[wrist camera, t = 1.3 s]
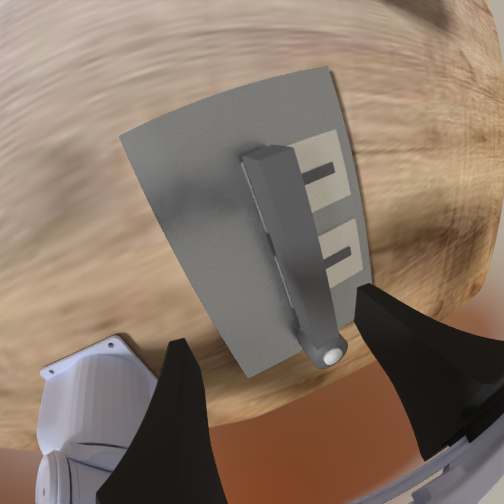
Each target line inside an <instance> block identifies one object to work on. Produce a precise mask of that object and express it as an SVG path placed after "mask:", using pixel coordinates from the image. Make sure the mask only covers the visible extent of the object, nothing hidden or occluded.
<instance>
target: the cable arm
mask: <svg viewBox="0 0 504 504" xmlns="http://www.w3.org/2000/svg"><path fill="white" fill-rule="evenodd" d="M242 158H243V160H244V163H245V166H246V169H247V171H248V174H249V177H250V180H251V183H252V185H253V188H254V191H255V194H256V197H257V199H258V202H259V205H260V208H261V211H262V214H263V216H264V219H265V222H266V225H267V228H268V231H269V234H270V237H271V240H272V242H273V245H274V248H275V251H276V254H277V257H278V260H279V263H280V266H281V269H282V272H283V275H284V278H285V281H286V284H287V287H288V290H289V293H290V296H291V299H292V302H293V305H294V308H295V311H296V314H297V317H298V320H299V323H300V327H301V330H300V332H299V334H298V343H299V344H300V346H301V347H302V349H303V350H304V351H305V353H306V354H307V355H308V357H309V358H310V360H311V361H312V362H313V364H314V365H315V366H316V367H317V368H319V369H325V368H329V367H331V366H333V365H334V364H336V363H337V362H339V361H340V360H341V359H342V357H343V356H344V355H345V353H346V351H347V348H348V343H347V341H346V340H345V339H344V338H343V337H342V336H341V335H340V334H339V332H338V327H337V322H336V316H335V311H334V306H333V301H332V296H331V291H330V287H329V282H328V277H327V273H326V268H325V264H324V260H323V255H322V251H321V247H320V243H319V238H318V234H317V230H316V226H315V222H314V218H313V215H312V211H311V207H310V203H309V199H308V196H307V192H306V188H305V185H304V181H303V178H302V174H301V171H300V167H299V164H298V160H297V157H296V154H295V150H294V147H287V146H280V145H270V146H267V147H264V148H262V149H259V150H256V151H254V152H251V153H249V154H246V155H244V156H242Z"/></svg>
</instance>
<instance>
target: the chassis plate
mask: <svg viewBox="0 0 504 504" xmlns="http://www.w3.org/2000/svg"><path fill="white" fill-rule="evenodd" d="M119 138H120V140H121V142H122V145H123V147H124V149H125V152H126V154H127V156H128V159H129V161H130V163H131V165H132V168H133V170H134V172H135V174H136V176H137V178H138V181H139V183H140V185H141V187H142V189H143V191H144V193H145V196H146V198H147V200H148V202H149V204H150V206H151V208H152V210H153V212H154V214H155V216H156V218H157V220H158V222H159V224H160V226H161V228H162V230H163V232H164V234H165V236H166V238H167V240H168V242H169V244H170V246H171V248H172V250H173V251H174V253H175V255H176V257H177V259H178V261H179V263H180V265H181V266H182V268H183V270H184V272H185V274H186V276H187V277H188V279H189V281H190V283H191V285H192V287H193V288H194V290H195V292H196V294H197V295H198V297H199V299H200V301H201V302H202V304H203V306H204V308H205V309H206V311H207V313H208V315H209V316H210V318H211V320H212V321H213V323H214V325H215V326H216V328H217V330H218V331H219V333H220V335H221V336H222V338H223V340H224V341H225V343H226V345H227V346H228V348H229V350H230V351H231V353H232V354H233V356H234V358H235V359H236V361H237V362H238V364H239V366H240V367H241V369H242V370H243V372H244V373H245V375H246V376H247V378H250V377H252V376H254V375H256V374H258V373H260V372H262V371H264V370H266V369H268V368H270V367H272V366H274V365H276V364H278V363H280V362H282V361H284V360H286V359H288V358H289V357H291V356H293V355H295V354H297V353H299V352H300V351H302V350H303V349H302V347H301V346H300V344H299V343H298V334H299V332H300V330H301V327H300V323H299V320H298V317H297V314H296V311H295V308H294V305H293V302H292V299H291V296H290V293H289V290H288V287H287V284H286V281H285V278H284V275H283V272H282V269H281V266H280V263H279V260H278V257H277V254H276V251H275V248H274V245H273V242H272V240H271V237H270V234H269V231H268V228H267V225H266V222H265V219H264V216H263V214H262V211H261V208H260V205H259V202H258V199H257V197H256V194H255V191H254V188H253V185H252V183H251V180H250V177H249V174H248V171H247V169H246V166H245V163H244V160H243V158H242V156H244V155H246V154H249V153H251V152H254V151H256V150H259V149H262V148H264V147H267V146H270V145H280V146H287V147H294V150H295V154H296V157H297V160H298V164H299V167H300V171H301V174H302V178H303V181H304V185H305V188H306V192H307V196H308V199H309V203H310V207H311V211H312V215H313V218H314V222H315V226H316V230H317V234H318V238H319V243H320V247H321V251H322V255H323V260H324V264H325V268H326V273H327V277H328V282H329V287H330V291H331V296H332V301H333V306H334V311H335V316H336V322H337V327H338V329H340V328H342V327H343V326H345V325H346V324H348V323H350V322H351V321H353V320H354V315H355V305H356V294H357V287H359V286H362V285H365V284H367V283H371V284H372V277H371V267H370V258H369V249H368V241H367V234H366V227H365V220H364V214H363V208H362V202H361V196H360V191H359V185H358V180H357V175H356V170H355V165H354V161H353V156H352V152H351V147H350V143H349V139H348V135H347V131H346V127H345V123H344V119H343V115H342V112H341V108H340V105H339V101H338V98H337V94H336V91H335V88H334V84H333V81H332V78H331V75H330V72H329V69H328V66H324V67H319V68H314V69H308V70H304V71H299V72H294V73H290V74H286V75H281V76H277V77H273V78H269V79H266V80H262V81H258V82H255V83H251V84H248V85H244V86H241V87H238V88H235V89H232V90H228V91H225V92H222V93H219V94H217V95H214V96H211V97H208V98H205V99H202V100H200V101H197V102H194V103H192V104H189V105H187V106H184V107H182V108H179V109H177V110H174V111H172V112H169V113H167V114H165V115H162V116H160V117H158V118H156V119H153V120H151V121H149V122H147V123H145V124H143V125H141V126H138V127H136V128H134V129H132V130H130V131H128V132H126V133H124V134H122V135H120V136H119Z"/></svg>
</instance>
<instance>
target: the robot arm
mask: <svg viewBox="0 0 504 504" xmlns="http://www.w3.org/2000/svg"><path fill="white" fill-rule="evenodd" d="M354 322H355V324H356V326H357V328H358V330H359V332H360V334H361V336H362V338H363V340H364V341H365V343H366V344H367V346H368V347H369V349H370V350H371V352H372V353H373V355H374V356H375V358H376V359H377V360H378V362H379V363H380V365H381V366H382V368H383V369H384V371H385V372H386V374H387V375H388V376H389V378H390V380H391V382H392V383H393V385H394V387H395V389H396V391H397V393H398V395H399V397H400V399H401V402H402V404H403V406H404V408H405V411H406V413H407V415H408V418H409V420H410V423H411V425H412V428H413V431H414V434H415V437H416V440H417V443H418V446H419V450H420V453H421V456H422V458H423V459H424V461H426V460H428V459H430V458H431V457H433V456H434V455H436V454H437V453H439V452H440V451H442V450H443V449H445V448H446V447H447V446H449V448H448V449H447V450H446V451H444V452H442V453H441V454H440V455H438V456H437V457H435V458H434V459H432V460H431V461H429V462H427V463H426V464H424V465H423V466H421V467H419V468H418V469H416V470H415V471H413V472H411V473H409V474H408V475H406V476H404V477H402V478H401V479H399V480H397V481H395V482H393V483H391V484H389V485H387V486H386V487H384V488H382V489H379V490H377V491H376V492H373V493H371V494H369V495H367V496H365V497H362V498H360V499H358V500H355V501H353V502H351V503H348V504H383V503H385V502H387V501H389V500H391V499H393V498H395V497H397V496H399V495H400V494H402V493H404V492H406V491H408V490H409V489H411V488H413V487H414V486H416V485H418V484H419V483H421V482H423V481H424V480H425V479H427V478H429V477H430V476H432V475H433V474H435V473H436V472H438V471H439V470H441V469H442V468H444V469H443V473H442V474H441V475H440V476H438V477H437V478H435V479H433V480H432V481H430V482H428V483H427V484H425V485H424V486H422V487H421V488H419V489H418V490H416V491H414V492H413V493H412V494H411V495H412V497H413V499H414V501H412V502H410V503H408V504H478V503H479V502H480V501H481V500H482V499H483V498H484V497H485V496H486V495H487V494H488V493H489V492H490V491H491V490H492V489H493V488H494V486H495V485H496V484H497V483H498V482H499V481H500V480H501V478H502V477H503V476H504V341H501V340H494V339H489V338H485V337H481V336H477V335H473V334H470V333H467V332H464V331H461V330H458V329H455V328H453V327H450V326H448V325H446V324H443V323H441V322H438V321H436V320H434V319H432V318H430V317H428V316H426V315H424V314H422V313H420V312H418V311H417V310H415V309H413V308H411V307H409V306H408V305H406V304H404V303H403V302H401V301H399V300H397V299H396V298H394V297H392V296H391V295H389V294H387V293H386V292H384V291H383V290H381V289H379V288H378V287H376V286H374V285H372V284H371V283H367V284H365V285H362V286H359V287H357V294H356V305H355V315H354ZM109 343H113V345H110V344H109ZM52 370H53V371H52ZM40 375H41V376H42V377H43V378H44V379H45V380H46V382H45V387H44V391H43V396H42V401H41V406H40V411H39V417H38V423H37V439H38V443H39V446H40V449H41V451H42V453H43V455H44V456H43V458H42V460H41V463H40V466H39V470H38V475H37V482H36V504H228V503H227V500H226V497H225V494H224V491H223V488H222V485H221V481H220V478H219V474H218V471H217V467H216V464H215V460H214V456H213V452H212V447H211V442H210V436H209V428H208V418H207V409H206V399H205V389H204V385H203V380H202V375H201V370H200V367H199V365H198V363H197V361H196V359H195V357H194V356H193V354H192V352H191V350H190V348H189V346H188V344H187V342H186V340H185V338H182V339H178V340H174V341H170V342H169V344H168V347H167V351H166V355H165V358H164V362H163V365H162V369H161V372H160V375H159V378H158V379H157V378H156V377H155V376H154V375H153V374H152V372H151V371H150V370H149V369H148V368H147V367H146V366H145V365H144V364H143V363H142V361H141V360H140V359H139V358H138V357H137V356H136V355H135V353H134V352H133V351H132V350H131V349H130V348H129V346H128V345H127V344H126V343H125V342H124V340H123V339H122V338H121V337H120V336H117V335H114V336H111V337H109V338H107V339H105V340H103V341H101V342H99V343H96V344H94V345H92V346H90V347H88V348H86V349H83V350H81V351H79V352H77V353H75V354H73V355H70V356H68V357H66V358H64V359H62V360H59V361H57V362H55V363H53V364H51V365H48V366H46V367H44V368H42V369H41V370H40Z"/></svg>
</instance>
